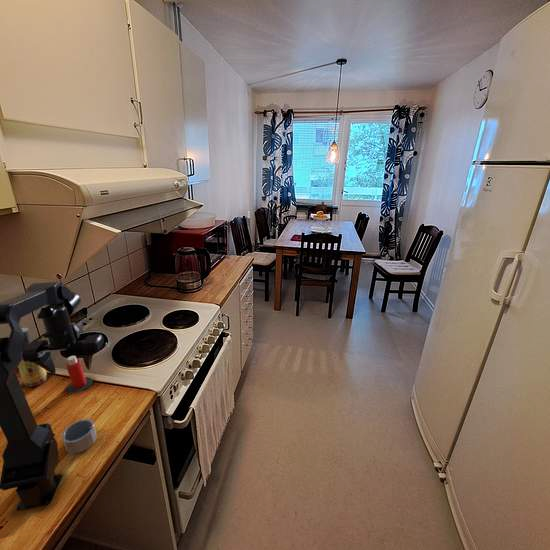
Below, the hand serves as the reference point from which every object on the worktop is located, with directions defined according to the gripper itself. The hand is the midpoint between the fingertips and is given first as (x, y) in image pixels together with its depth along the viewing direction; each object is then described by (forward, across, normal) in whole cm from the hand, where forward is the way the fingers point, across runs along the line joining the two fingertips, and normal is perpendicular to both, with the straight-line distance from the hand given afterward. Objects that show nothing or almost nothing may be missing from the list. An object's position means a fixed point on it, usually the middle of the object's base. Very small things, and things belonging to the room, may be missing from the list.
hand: (71, 371), depth 84 cm
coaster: (+12, +4, -9) cm, 16 cm away
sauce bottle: (+12, +19, -14) cm, 26 cm away
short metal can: (+13, -5, +14) cm, 20 cm away
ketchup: (+12, +4, -9) cm, 15 cm away
